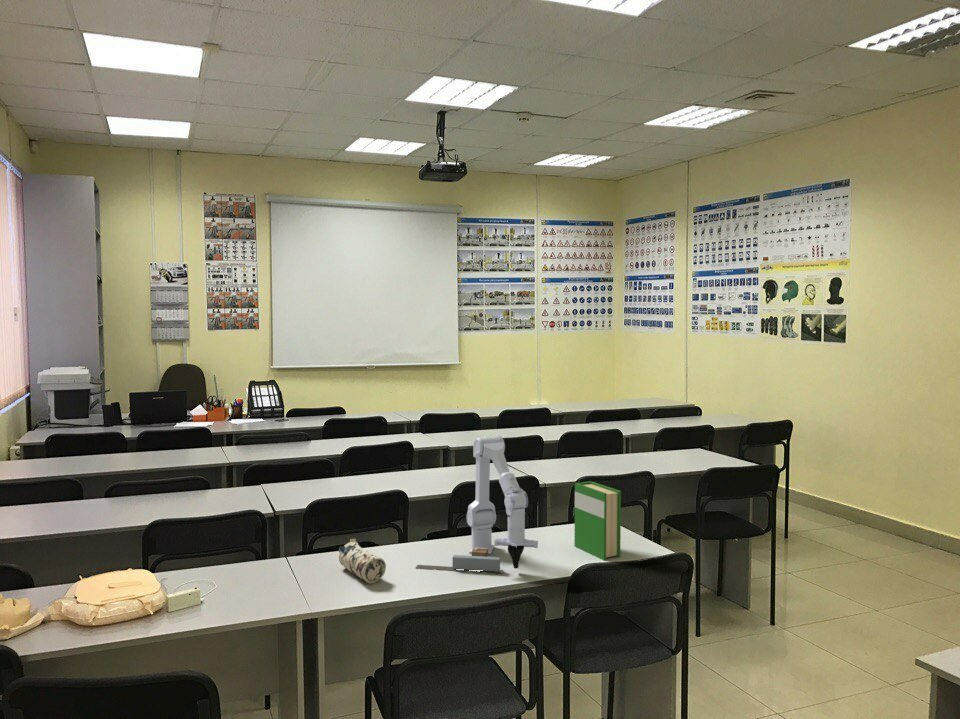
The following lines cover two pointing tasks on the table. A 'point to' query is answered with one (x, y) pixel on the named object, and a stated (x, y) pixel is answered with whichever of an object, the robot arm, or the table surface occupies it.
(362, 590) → the table surface
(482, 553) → the walnut letter block
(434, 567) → the metal track
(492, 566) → the slate screen
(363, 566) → the pencil case
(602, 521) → the hardback book
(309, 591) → the table surface
